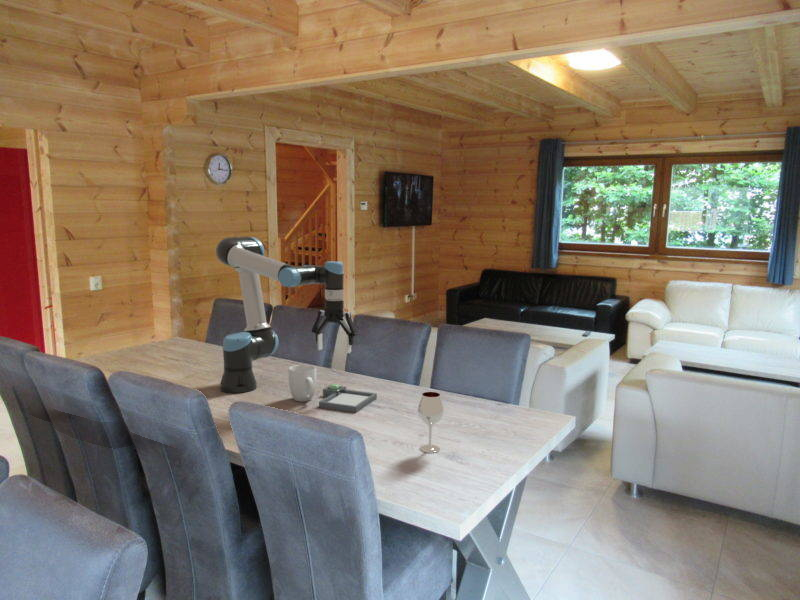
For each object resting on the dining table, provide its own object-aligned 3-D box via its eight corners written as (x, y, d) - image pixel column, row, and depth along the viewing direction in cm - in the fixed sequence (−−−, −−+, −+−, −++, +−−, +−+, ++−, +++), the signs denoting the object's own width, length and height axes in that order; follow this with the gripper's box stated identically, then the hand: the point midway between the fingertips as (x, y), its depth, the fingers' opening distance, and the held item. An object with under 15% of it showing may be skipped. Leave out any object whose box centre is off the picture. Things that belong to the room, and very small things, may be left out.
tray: (319, 407, 226) (318, 401, 226) (341, 393, 243) (341, 388, 243) (356, 412, 220) (356, 407, 220) (376, 398, 238) (376, 393, 237)
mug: (325, 403, 231) (325, 371, 229) (299, 408, 225) (299, 375, 223) (309, 393, 243) (309, 363, 241) (284, 397, 237) (284, 366, 235)
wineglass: (415, 444, 190) (416, 390, 187) (440, 444, 190) (441, 390, 188) (418, 454, 182) (419, 398, 179) (444, 453, 182) (446, 398, 180)
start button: (327, 391, 241) (327, 385, 240) (332, 388, 244) (332, 383, 244) (336, 392, 239) (336, 387, 239) (341, 389, 243) (341, 384, 242)
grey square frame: (322, 396, 240) (322, 389, 240) (331, 391, 246) (331, 384, 246) (338, 398, 237) (338, 391, 237) (345, 393, 244) (345, 386, 243)
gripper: (302, 298, 237) (303, 350, 240) (357, 302, 229) (357, 355, 231) (312, 296, 244) (312, 346, 247) (365, 300, 235) (365, 352, 238)
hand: (334, 351), depth 239 cm, fingers open, 13 cm apart
